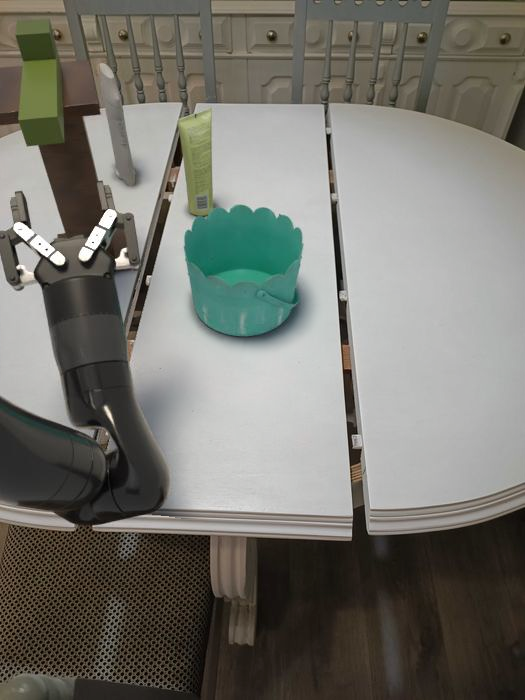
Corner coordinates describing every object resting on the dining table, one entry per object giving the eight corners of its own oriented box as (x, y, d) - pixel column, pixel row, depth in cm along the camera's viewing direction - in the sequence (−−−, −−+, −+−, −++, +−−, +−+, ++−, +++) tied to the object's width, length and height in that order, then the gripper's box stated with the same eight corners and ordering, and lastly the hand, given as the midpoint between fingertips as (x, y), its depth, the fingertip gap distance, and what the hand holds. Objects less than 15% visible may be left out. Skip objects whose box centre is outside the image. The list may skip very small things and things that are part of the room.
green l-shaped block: (26, 146, 58) (8, 90, 54) (31, 70, 72) (16, 20, 67) (64, 142, 59) (49, 87, 55) (61, 68, 72) (49, 18, 68)
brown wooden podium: (65, 309, 88) (-5, 113, 63) (59, 240, 100) (-2, 53, 75) (138, 295, 90) (98, 102, 66) (124, 230, 102) (85, 46, 78)
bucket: (195, 263, 96) (189, 201, 86) (296, 265, 96) (301, 204, 87) (184, 341, 84) (176, 279, 74) (300, 344, 84) (307, 282, 74)
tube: (191, 200, 109) (183, 104, 95) (216, 202, 109) (211, 106, 94) (186, 216, 106) (177, 119, 91) (211, 218, 105) (206, 121, 91)
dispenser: (110, 164, 118) (88, 58, 101) (128, 161, 119) (109, 55, 102) (123, 189, 111) (102, 80, 95) (142, 184, 113) (124, 76, 96)
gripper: (153, 306, 54) (122, 162, 57) (5, 333, 51) (-20, 180, 54) (155, 324, 61) (128, 196, 64) (25, 349, 58) (2, 213, 61)
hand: (60, 189), depth 59 cm, fingers open, 8 cm apart
